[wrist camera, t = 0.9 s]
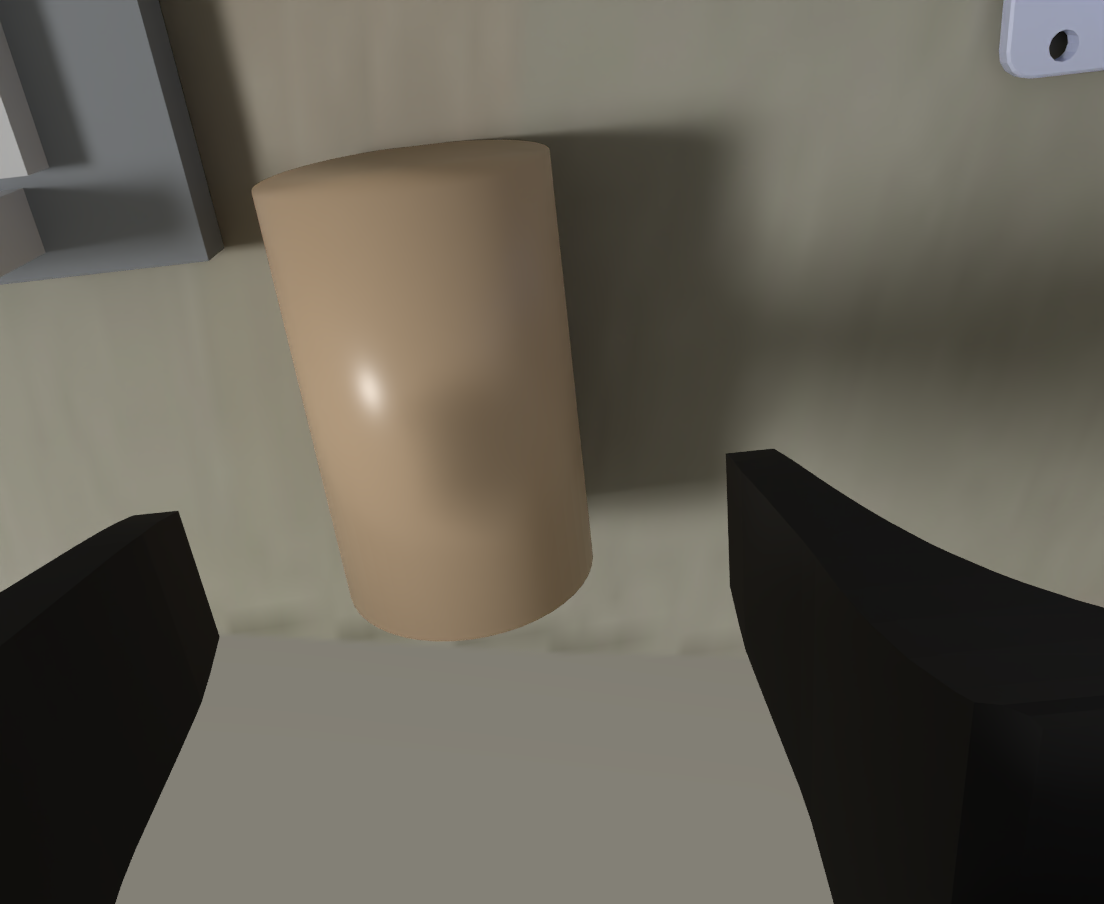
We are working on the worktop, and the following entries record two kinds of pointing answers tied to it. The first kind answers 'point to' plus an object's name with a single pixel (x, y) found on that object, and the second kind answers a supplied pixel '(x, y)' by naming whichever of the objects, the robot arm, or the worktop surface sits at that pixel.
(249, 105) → the worktop surface
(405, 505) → the beige rounded cylinder
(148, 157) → the holder
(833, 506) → the robot arm
